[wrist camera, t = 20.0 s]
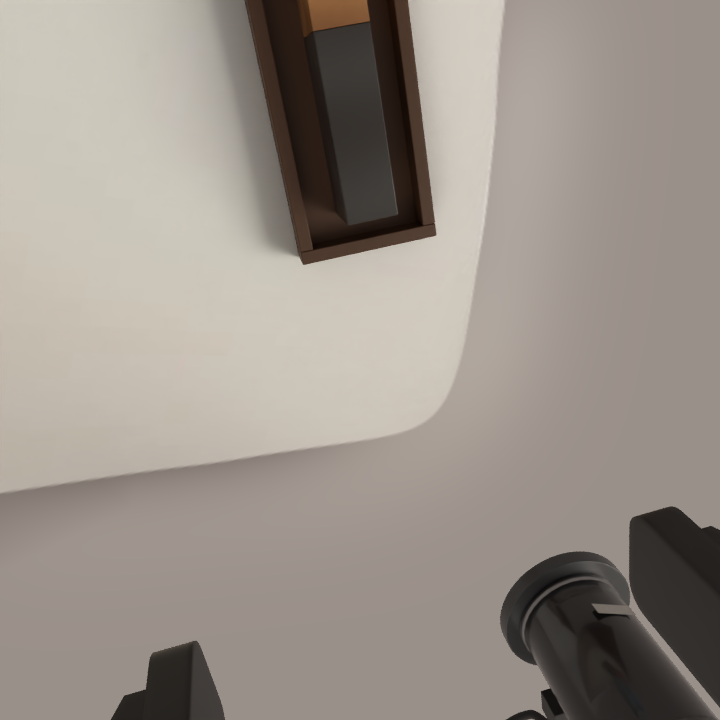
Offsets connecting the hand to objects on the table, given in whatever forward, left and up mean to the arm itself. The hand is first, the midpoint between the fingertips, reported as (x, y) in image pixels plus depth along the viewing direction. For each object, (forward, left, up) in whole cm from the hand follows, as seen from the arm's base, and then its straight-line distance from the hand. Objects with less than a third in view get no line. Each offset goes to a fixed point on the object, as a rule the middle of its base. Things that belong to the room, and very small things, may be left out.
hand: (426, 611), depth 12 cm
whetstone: (+11, -6, -32) cm, 34 cm away
